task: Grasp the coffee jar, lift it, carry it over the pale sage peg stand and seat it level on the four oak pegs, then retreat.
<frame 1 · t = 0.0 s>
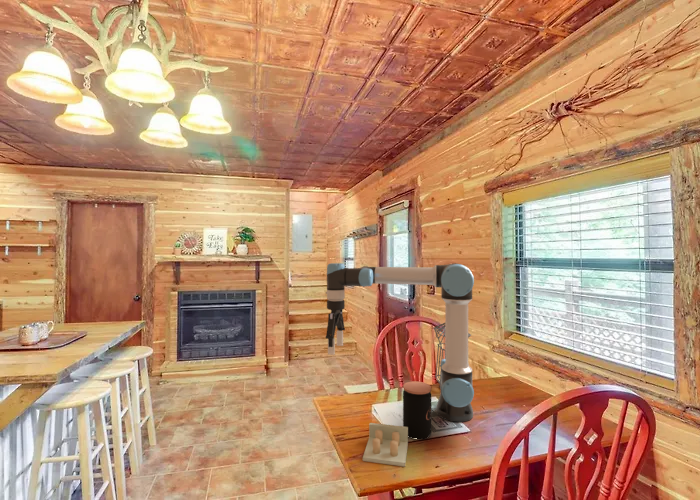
hand: (335, 349, 149), 28 cm above the table, fingers open, 13 cm apart
geometric lantern: (451, 390, 176), on the table
coffee jar: (417, 433, 135), on the table
peg stand: (386, 451, 123), on the table
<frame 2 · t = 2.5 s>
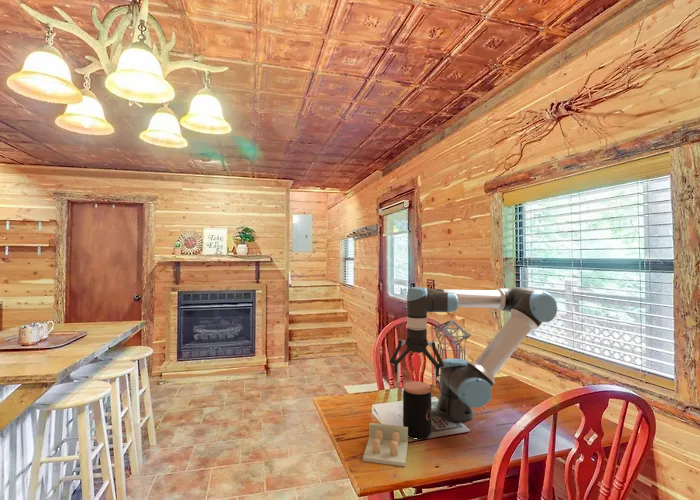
hand: (416, 383, 135), 19 cm above the table, fingers open, 13 cm apart
nothing on the table moved.
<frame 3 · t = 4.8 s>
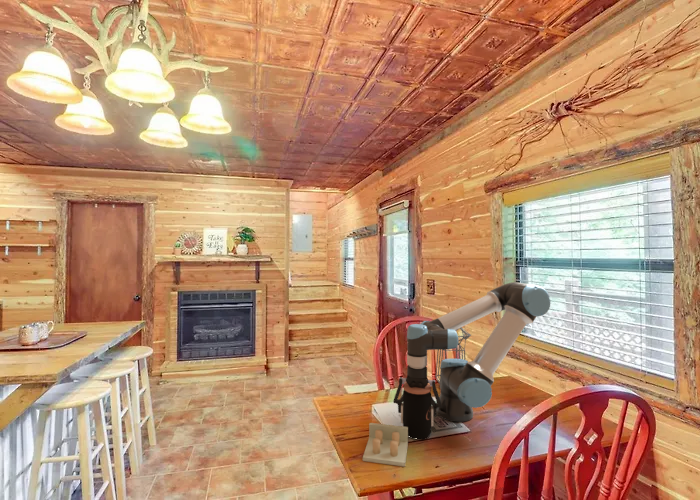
hand: (417, 422, 135), 4 cm above the table, fingers closed on coffee jar, 11 cm apart
coffee jar: (417, 433, 135), on the table, touching gripper
everything else where it was.
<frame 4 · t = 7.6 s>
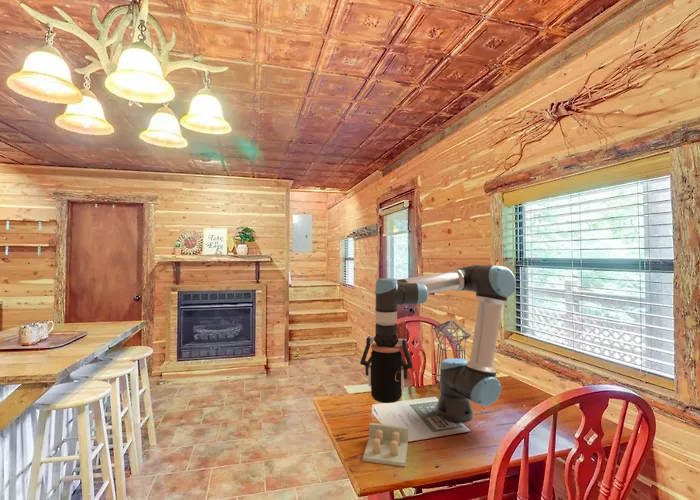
hand: (386, 386, 123), 23 cm above the table, fingers closed on coffee jar, 11 cm apart
coffee jar: (386, 397, 123), point 19 cm above the table, touching gripper
everything else where it was.
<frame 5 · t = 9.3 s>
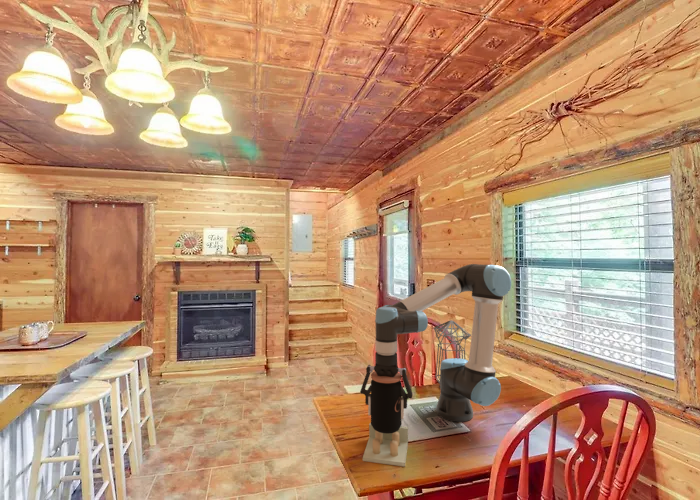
hand: (386, 415, 123), 13 cm above the table, fingers closed on coffee jar, 11 cm apart
coffee jar: (386, 427, 123), point 9 cm above the table, touching gripper
everything else where it was.
when the fingers open (11 cm above the table, at t = 10.8 s): coffee jar drops 2 cm, resting on peg stand.
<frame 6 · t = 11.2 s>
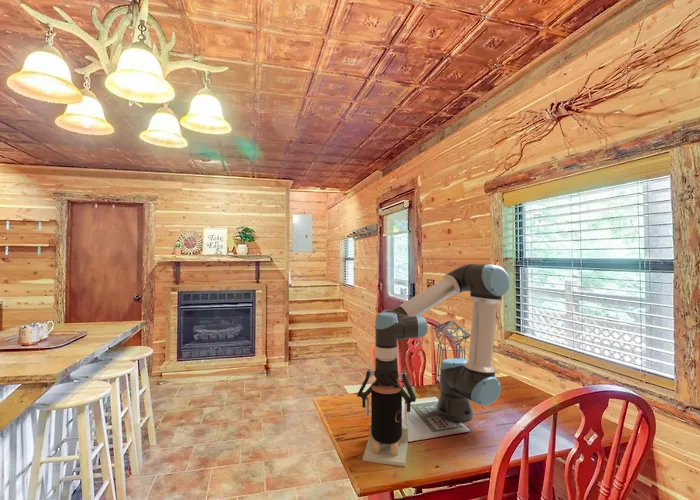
hand: (386, 418, 123), 12 cm above the table, fingers open, 13 cm apart
coffee jar: (386, 437, 123), point 5 cm above the table, touching peg stand
everything else where it was.
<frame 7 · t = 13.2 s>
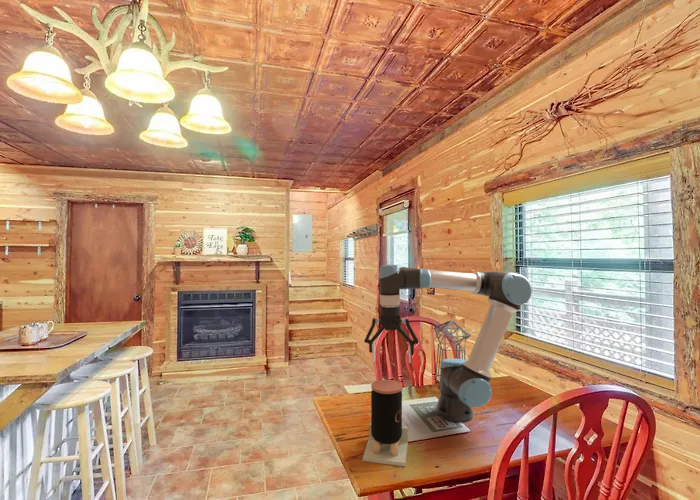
hand: (391, 361, 134), 28 cm above the table, fingers open, 13 cm apart
nothing on the table moved.
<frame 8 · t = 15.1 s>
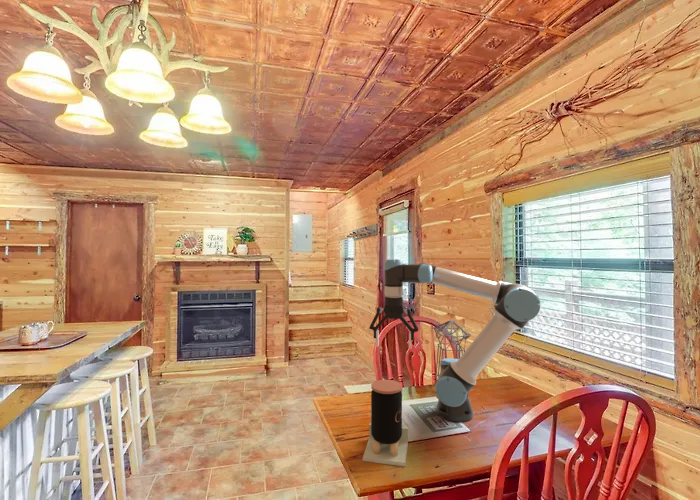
hand: (393, 347, 147), 30 cm above the table, fingers open, 13 cm apart
nothing on the table moved.
at the end: coffee jar inside the target area on the peg stand (0.1 cm from its centre), point 5.0 cm above the peg stand's base; coffee jar tilted 0°; the gripper is holding nothing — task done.
